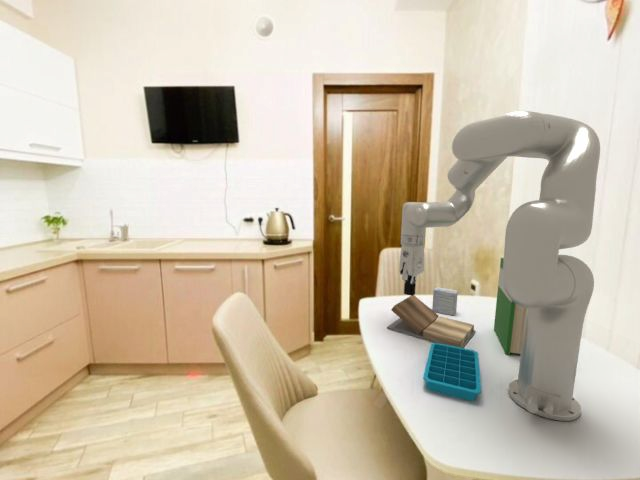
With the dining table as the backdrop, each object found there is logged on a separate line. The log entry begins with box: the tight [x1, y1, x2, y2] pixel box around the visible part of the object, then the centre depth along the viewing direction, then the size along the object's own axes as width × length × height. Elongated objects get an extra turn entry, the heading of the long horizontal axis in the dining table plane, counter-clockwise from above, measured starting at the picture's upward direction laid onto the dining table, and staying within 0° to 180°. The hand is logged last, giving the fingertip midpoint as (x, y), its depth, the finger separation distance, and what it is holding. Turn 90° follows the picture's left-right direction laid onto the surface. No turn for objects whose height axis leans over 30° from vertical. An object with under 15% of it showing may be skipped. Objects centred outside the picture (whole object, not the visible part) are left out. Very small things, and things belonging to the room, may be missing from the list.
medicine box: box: [431, 287, 459, 316], centre depth 117 cm, size 8×4×9 cm, turn 58°
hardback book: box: [493, 257, 527, 357], centre depth 92 cm, size 18×7×24 cm, turn 161°
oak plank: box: [423, 316, 475, 348], centre depth 98 cm, size 15×11×2 cm
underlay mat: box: [386, 317, 476, 348], centre depth 101 cm, size 16×23×1 cm
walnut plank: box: [391, 294, 440, 334], centre depth 104 cm, size 15×11×2 cm
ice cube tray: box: [422, 342, 482, 402], centre depth 77 cm, size 12×20×3 cm, turn 155°
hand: (409, 294), depth 105 cm, fingers closed
